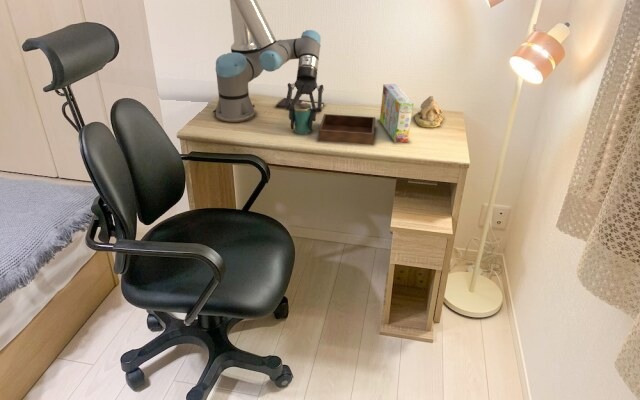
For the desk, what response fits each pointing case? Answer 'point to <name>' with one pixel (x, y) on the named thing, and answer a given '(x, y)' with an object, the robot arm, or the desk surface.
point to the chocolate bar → (283, 101)
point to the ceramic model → (429, 114)
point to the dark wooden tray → (347, 129)
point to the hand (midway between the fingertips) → (301, 128)
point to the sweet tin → (302, 118)
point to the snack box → (396, 112)
